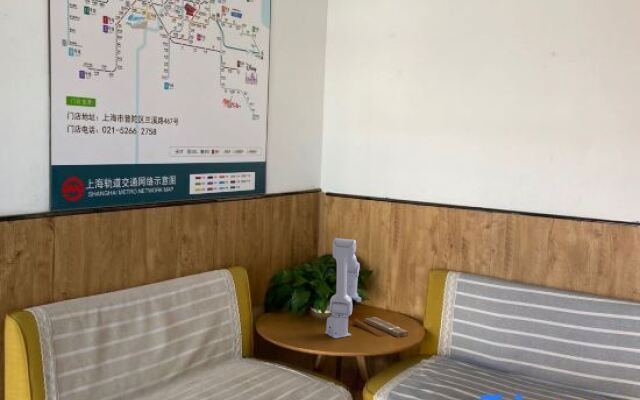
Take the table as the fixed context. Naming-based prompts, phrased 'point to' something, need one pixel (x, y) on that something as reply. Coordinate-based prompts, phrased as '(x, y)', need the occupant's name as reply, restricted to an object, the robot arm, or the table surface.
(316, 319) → the table surface
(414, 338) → the table surface
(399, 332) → the walnut plank
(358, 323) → the primitive tool
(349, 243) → the robot arm
